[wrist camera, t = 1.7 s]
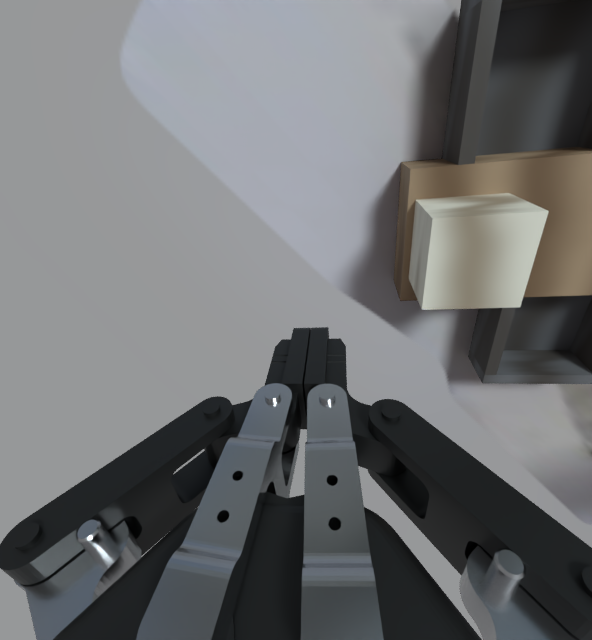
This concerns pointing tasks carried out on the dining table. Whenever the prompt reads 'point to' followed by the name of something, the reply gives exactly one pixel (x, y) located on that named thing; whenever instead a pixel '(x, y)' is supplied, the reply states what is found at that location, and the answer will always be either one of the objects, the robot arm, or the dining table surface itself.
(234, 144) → the dining table surface
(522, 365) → the box
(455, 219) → the block
